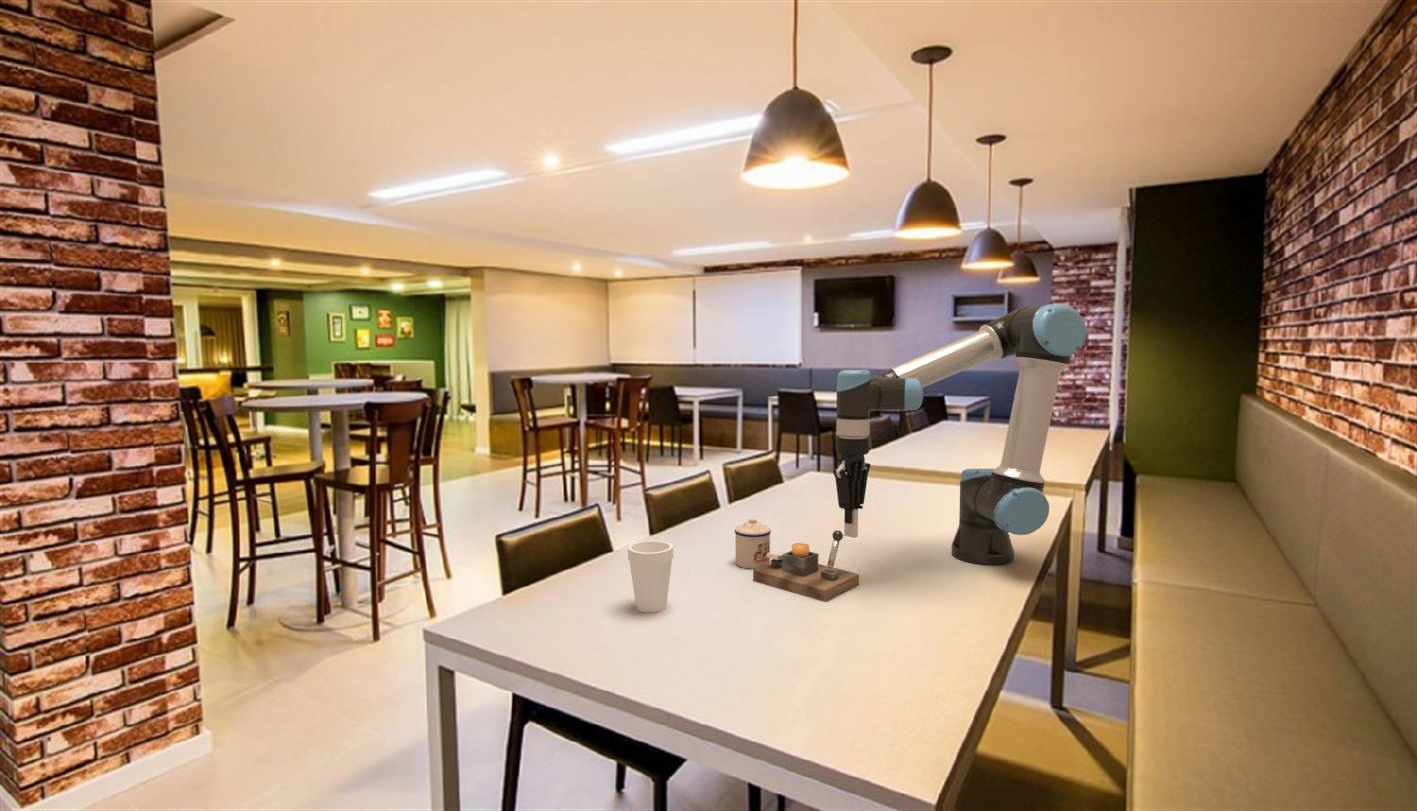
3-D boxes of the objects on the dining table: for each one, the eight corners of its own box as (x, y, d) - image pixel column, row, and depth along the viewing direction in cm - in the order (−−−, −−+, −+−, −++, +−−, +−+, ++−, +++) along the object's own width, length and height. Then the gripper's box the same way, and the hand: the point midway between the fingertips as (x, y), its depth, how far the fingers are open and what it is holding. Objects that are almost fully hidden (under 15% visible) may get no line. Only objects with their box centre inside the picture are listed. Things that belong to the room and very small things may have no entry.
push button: (812, 558, 161) (812, 545, 161) (802, 562, 158) (802, 549, 158) (798, 554, 164) (798, 542, 163) (788, 558, 161) (788, 545, 160)
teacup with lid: (758, 572, 168) (758, 525, 167) (727, 565, 173) (727, 519, 172) (782, 559, 178) (783, 515, 177) (752, 553, 183) (752, 510, 182)
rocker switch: (792, 558, 166) (793, 554, 166) (777, 560, 162) (777, 555, 162) (782, 555, 168) (782, 551, 168) (766, 557, 164) (766, 552, 164)
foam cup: (638, 618, 140) (637, 556, 139) (622, 603, 148) (621, 544, 147) (680, 610, 144) (680, 549, 143) (663, 596, 152) (662, 538, 151)
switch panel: (859, 584, 159) (859, 557, 158) (825, 601, 148) (826, 572, 148) (788, 566, 172) (788, 540, 172) (753, 580, 162) (753, 553, 161)
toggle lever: (836, 570, 156) (846, 532, 158) (831, 568, 154) (841, 530, 156) (827, 568, 157) (836, 530, 159) (822, 566, 155) (831, 528, 157)
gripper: (853, 432, 167) (851, 527, 169) (823, 437, 157) (822, 538, 160) (881, 435, 162) (879, 533, 164) (852, 441, 152) (850, 545, 155)
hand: (851, 536), depth 162 cm, fingers closed
